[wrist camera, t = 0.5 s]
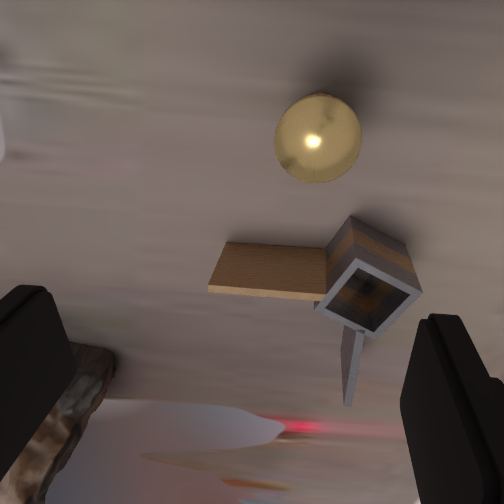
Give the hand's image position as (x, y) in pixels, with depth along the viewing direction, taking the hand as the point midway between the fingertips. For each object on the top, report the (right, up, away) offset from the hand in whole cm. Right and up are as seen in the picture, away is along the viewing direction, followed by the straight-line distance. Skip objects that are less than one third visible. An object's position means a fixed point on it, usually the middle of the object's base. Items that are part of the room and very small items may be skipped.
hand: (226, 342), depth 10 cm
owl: (-25, -14, +47) cm, 56 cm away
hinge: (+7, 0, +32) cm, 33 cm away
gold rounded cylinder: (+7, +14, +24) cm, 29 cm away
